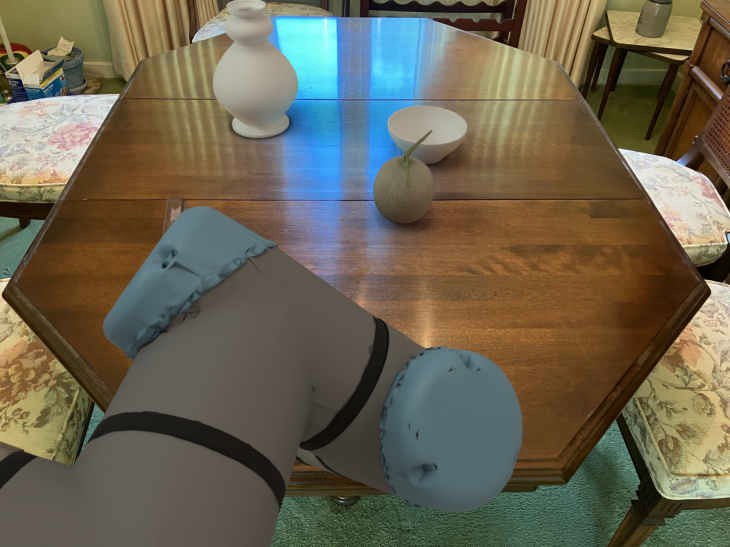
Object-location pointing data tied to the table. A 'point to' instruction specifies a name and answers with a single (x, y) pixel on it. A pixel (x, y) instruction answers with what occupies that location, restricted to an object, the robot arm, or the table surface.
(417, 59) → the table surface
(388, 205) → the fruit
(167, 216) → the tin
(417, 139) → the bowl
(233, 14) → the decorative vase
